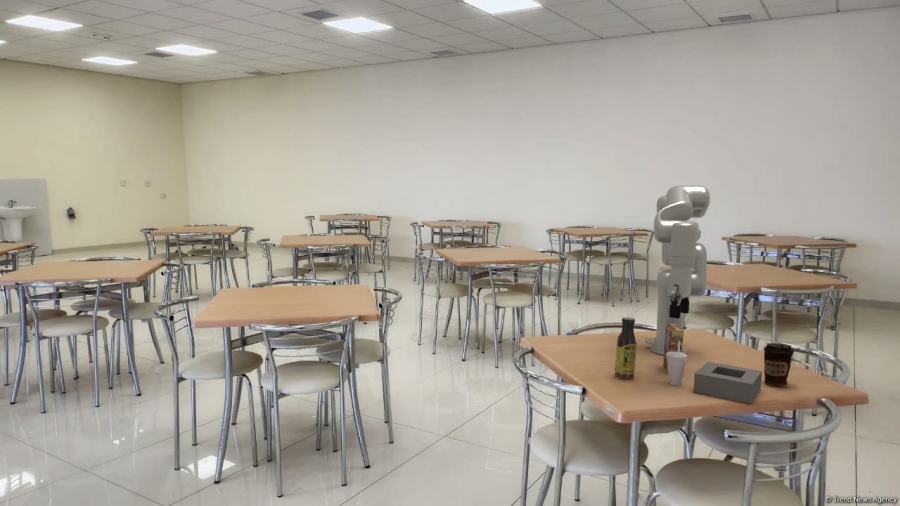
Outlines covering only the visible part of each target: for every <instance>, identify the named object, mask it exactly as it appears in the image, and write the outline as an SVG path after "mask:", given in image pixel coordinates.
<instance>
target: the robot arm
mask: <svg viewBox="0 0 900 506" xmlns="http://www.w3.org/2000/svg"><path fill="white" fill-rule="evenodd" d="M710 203H711V194H710V191H709V189H708V188H707V187H706V186H704V185H686V184H685V185H680V184H679V185H675V186H672V187H670V188H669V189H668V190H667V191H666V195H662V196H660V197H658V198H657V201H656V215H655V217H654V219H653V220H654V221H653V235H654V240H655V241H656V242H658V243H660V244H661V261H662V264H663V265H664V266H666V267H670V269H666V270H662V271H660V272H658V274H657V276H656V290H657V315H656V316H657V317H656V334H655V335H656V336H655V338H651V337H645V339H644V342H645V343H646V344H648V345H652V346H651V347H650V348H651V349H650V350H651V352H653V353H654V354H657V355H660V356H661V355H662V356H664V346H665V332H666V324H675V325H678V326H679V327H680V328H681V329H683V330H684V323H685V321H684V319H685V314H689V313H690V297H695V298H696V297H697V298H698V297H702V296H704V295H705V294H706V291H707V277H708V276H707V274H708V273H707V270H708V267H707V265H708V254H707V253H708V252H707V249H706V246H705V245H704V244H702V243H701V242H698V241H699V240H700V239H701V235H702V231H701V230H702V228H701V226H700V225H699V223H697V221H693V220H690V219H699V218H703V217H704V216H705V215H706V213H707V210H708V209H709V206H710ZM682 353H684V354H686V355H687V350H686V349H685V348H683V347H682Z"/></svg>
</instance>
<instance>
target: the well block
mask: <svg viewBox="0 0 900 506" xmlns="http://www.w3.org/2000/svg"><path fill="white" fill-rule="evenodd" d="M762 373H763V370H758V369H754V368H747V367H740V366H735V365H730V364H724V363H723V364H722V363H718V362H713V361H706V362H705V364H703V365H702V366H701V367H700V368H699V369H698V370H697V371H696V372H694V377H693V378H694V380H693V381H694V382H693V393H695V394H700V395H705V396H710V397H715V398H719V399H724V400H731V401H735V402H738V403H739V402H740V403H742V404H743V403H744V404H749V405H752V403H753V401H755V399H756V397H757V396H758V394H759V393H760V391H761V390H762Z"/></svg>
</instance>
